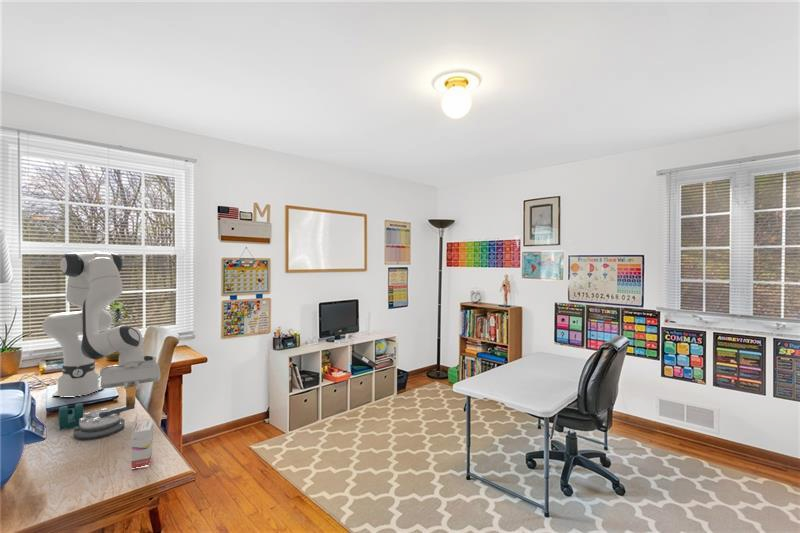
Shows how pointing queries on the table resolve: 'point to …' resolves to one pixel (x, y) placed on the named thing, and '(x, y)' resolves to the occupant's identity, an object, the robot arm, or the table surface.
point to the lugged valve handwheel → (107, 415)
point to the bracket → (70, 416)
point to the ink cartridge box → (141, 443)
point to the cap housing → (99, 432)
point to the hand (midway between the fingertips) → (131, 393)
